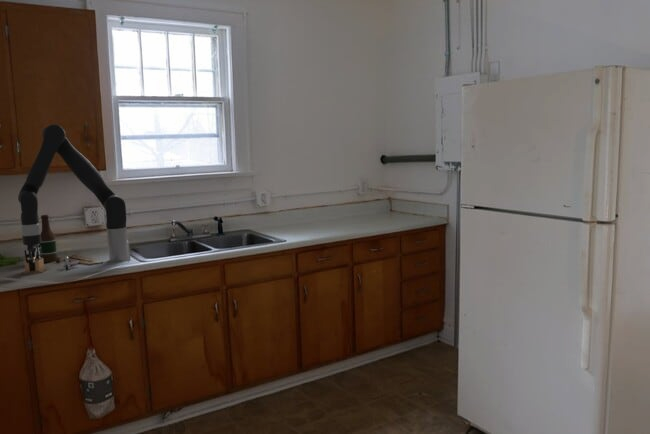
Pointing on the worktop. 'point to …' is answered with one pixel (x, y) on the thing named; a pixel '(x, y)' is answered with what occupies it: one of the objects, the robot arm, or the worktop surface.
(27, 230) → the robot arm
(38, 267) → the brown slotted box
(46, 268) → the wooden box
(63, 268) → the charcoal stand
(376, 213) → the worktop surface
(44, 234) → the beer bottle
